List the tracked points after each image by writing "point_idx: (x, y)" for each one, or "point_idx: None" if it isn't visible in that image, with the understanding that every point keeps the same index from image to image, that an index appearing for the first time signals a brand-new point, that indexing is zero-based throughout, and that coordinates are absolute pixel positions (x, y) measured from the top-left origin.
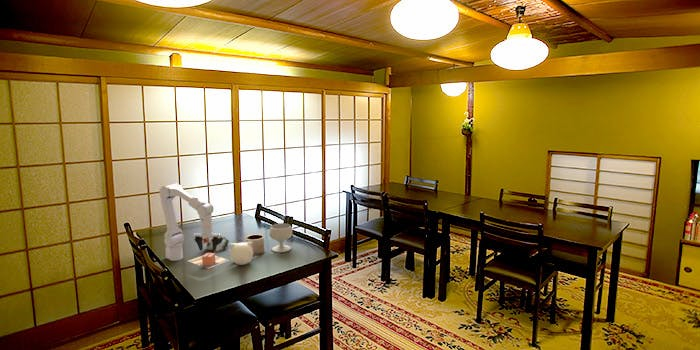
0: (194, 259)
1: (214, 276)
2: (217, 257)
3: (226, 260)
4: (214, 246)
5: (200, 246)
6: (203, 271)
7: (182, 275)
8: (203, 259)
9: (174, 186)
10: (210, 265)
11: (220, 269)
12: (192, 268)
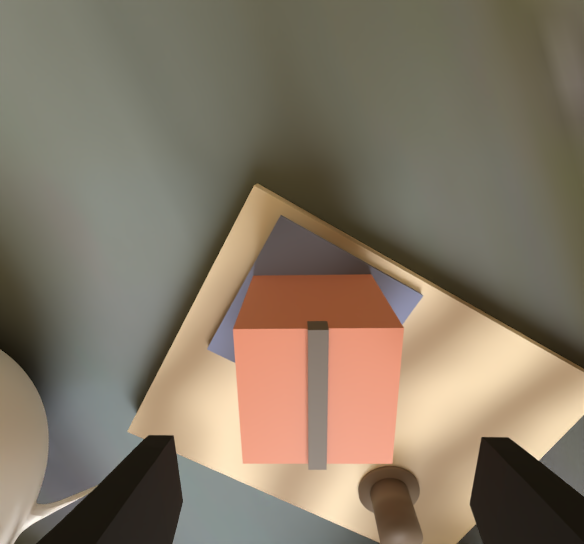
0: (536, 431)
1: (93, 9)
2: (298, 487)
3: (161, 425)
4: (49, 535)
5: (555, 540)
6: (313, 162)
7: (547, 4)
8: (370, 305)
9: None
10: (267, 272)
11: (137, 235)
12: (485, 239)
